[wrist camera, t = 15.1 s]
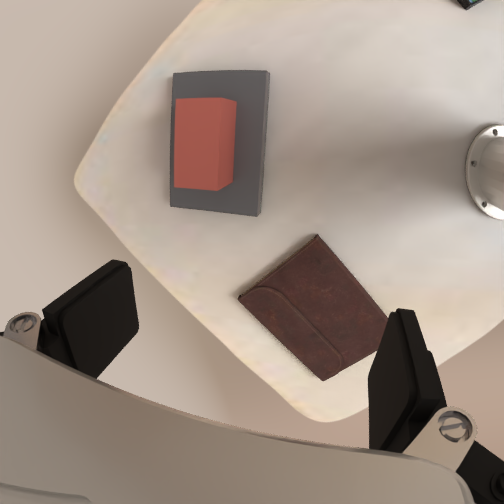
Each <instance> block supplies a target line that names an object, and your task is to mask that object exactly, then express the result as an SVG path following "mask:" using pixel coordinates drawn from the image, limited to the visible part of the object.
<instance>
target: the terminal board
mask: <svg viewBox="0 0 504 504" xmlns="http://www.w3.org/2000/svg"><path fill="white" fill-rule="evenodd" d="M269 80H270V73H269V72H268V71H259V70H223V71H198V72H183V73H173V89H172V110H171V140H170V207H179V208H188V209H197V210H206V211H214V212H223V213H231V214H239V215H247V216H255V217H257V216H258V215H259V214H260V213H261V200H262V186H263V171H264V156H265V142H266V126H267V111H268V96H269ZM183 98H225V99H229V100H233V101H237V106H236V125H235V145H234V167H233V182H232V183H231V184H229V185H227V186H225V187H223V188H222V189H220V190H218V191H214V190H202V189H190V188H177V187H174V141H175V108H176V99H183Z"/></svg>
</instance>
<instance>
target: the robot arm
mask: <svg viewBox="0 0 504 504" xmlns="http://www.w3.org/2000/svg"><path fill="white" fill-rule="evenodd" d="M471 161H472V162H473V163H472V164H471ZM466 181H467V185H468V189H469V192H470V194H471V197H472V199H473V200H474V202H475V203H476V205H477V206H478V207H479V208H480V209H481V210H482V211H483V212H484V213H486V214H487V215H489V216H490V217H492V218H495V219H499V220H504V125H493V126H490V127H487V128H485V129H484V130H482V131H481V132H480V133H479V134H478V135H477V136H476V137H475V139H474V140H473V142H472V144H471V146H470V148H469V151H468V154H467V160H466ZM482 202H483V204H482ZM42 311H43V315H44V319H43V320H42V321H41V318H40V316H39V315H38V314H36V313H33V312H25V313H20V314H18V315H16V316H14V317H13V318H11V319H10V320H9V321H8V323H7V325H6V328H5V331H4V332H0V504H504V461H502V460H501V459H500V458H498V457H497V456H496V455H494V454H493V453H491V452H490V451H489V450H487V449H486V448H485V447H483V446H482V445H480V444H479V443H478V442H476V441H475V438H476V435H477V425H476V423H475V420H474V419H473V418H472V416H471V415H470V414H469V413H467V412H466V411H465V410H463V409H460V408H457V407H447V404H446V400H445V396H444V392H443V389H442V385H441V381H440V378H439V375H438V372H437V368H436V364H435V361H434V358H433V355H432V353H431V352H430V351H428V350H427V348H426V344H425V341H424V338H423V335H422V332H421V329H420V326H419V323H418V320H417V317H416V315H415V312H414V310H407V309H400V308H398V309H397V310H396V312H391V313H390V315H389V318H388V321H387V324H386V327H385V330H384V333H383V336H382V339H381V342H380V345H379V347H378V350H377V353H376V356H375V358H374V361H373V364H372V366H371V369H370V372H369V375H368V398H369V449H366V448H359V447H350V446H340V445H333V444H325V443H319V442H313V441H306V440H301V439H295V438H289V437H283V436H278V435H272V434H268V433H262V432H258V431H253V430H249V429H245V428H241V427H237V426H232V425H229V424H225V423H221V422H217V421H213V420H209V419H206V418H203V417H199V416H196V415H192V414H189V413H186V412H183V411H179V410H176V409H174V408H170V407H167V406H165V405H162V404H158V403H156V402H153V401H150V400H147V399H145V398H142V397H139V396H136V395H134V394H131V393H129V392H126V391H124V390H121V389H119V388H116V387H114V386H111V385H109V384H107V383H104V382H102V381H100V380H97V377H98V376H99V375H100V374H101V373H102V372H103V371H104V370H105V368H106V367H107V366H108V365H109V364H110V363H111V362H112V360H113V359H114V358H115V357H116V356H117V355H118V353H120V351H121V350H122V349H123V348H124V347H125V346H126V345H127V344H128V343H129V341H130V340H131V339H132V338H133V337H134V336H135V335H136V333H137V332H138V329H139V322H138V315H137V309H136V303H135V295H134V287H133V280H132V271H131V268H130V267H129V266H128V264H127V263H126V262H123V261H118V260H111V261H109V262H108V263H106V264H105V265H103V266H102V267H101V268H99V269H98V270H96V271H95V272H93V273H92V274H90V275H89V276H88V277H86V278H85V279H84V280H82V281H80V282H79V283H78V284H76V285H75V286H73V287H72V288H71V289H69V290H68V291H67V292H65V293H64V294H62V295H61V296H60V297H59V298H57V299H56V300H54V301H53V302H52V303H50V304H49V305H48V306H46V307H45V308H44V309H42Z"/></svg>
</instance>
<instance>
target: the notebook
mask: <svg viewBox="0 0 504 504" xmlns="http://www.w3.org/2000/svg"><path fill="white" fill-rule="evenodd" d="M238 300H239V301H240V302H241V303H242V304H243V305H244V306H245V307H246V308H247V309H248V310H249V311H250V312H251V313H252V314H253V315H254V316H255V317H256V318H257V319H258V320H259V321H260V322H261V323H262V324H263V325H264V326H265V327H266V328H267V329H268V330H269V331H270V332H271V333H272V334H273V335H274V336H275V337H276V338H277V339H278V340H279V341H280V342H281V343H282V344H283V345H284V346H286V347H287V348H288V349H289V350H290V351H291V352H292V353H293V354H294V355H295V356H296V357H297V358H298V359H299V360H300V361H301V362H302V363H303V364H304V365H306V366H307V367H308V368H309V369H310V370H311V371H312V372H313V373H314V374H315V375H316V376H317V377H318V378H319V379H321V380H322V381H325V380H327V379H329V378H331V377H333V376H335V375H336V374H338V373H339V372H340V371H342V370H344V369H346V368H347V367H349V366H351V365H353V364H355V363H356V362H358V361H360V360H362V359H363V358H365V357H367V356H368V355H370V354H372V353H374V352H375V351H377V350H378V347H379V345H380V342H381V339H382V336H383V333H384V330H385V327H386V324H387V321H388V317H387V316H386V315H385V314H384V312H383V311H382V310H381V309H380V308H379V306H378V305H377V304H376V303H375V301H374V300H373V299H372V298H371V296H370V295H369V294H368V293H367V292H366V290H365V289H364V288H363V287H362V286H361V284H360V283H359V282H358V281H357V280H356V278H355V277H354V276H353V275H352V274H351V273H350V271H349V270H348V269H347V268H346V267H345V265H344V264H343V263H342V262H341V261H340V260H339V258H338V257H337V256H336V255H335V254H334V253H333V252H332V250H331V249H330V248H329V247H328V246H327V245H326V243H325V242H324V241H323V240H322V239H321V238H320V237H319V236H318V234H317V235H316V237H314V238H313V239H312V240H311V241H310V242H308V243H307V244H306V245H305V246H303V247H302V248H301V249H300V250H298V251H297V252H296V253H295V254H293V255H292V256H291V257H289V258H288V259H287V260H286V261H284V262H283V263H282V264H281V265H279V266H278V267H277V268H276V269H274V270H273V271H272V272H271V273H269V274H268V275H267V276H265V277H264V278H263V279H262V280H260V281H259V282H258V283H256V284H255V285H254V286H253V287H251V288H250V289H249V290H247V291H246V292H245V293H244V294H242V296H241V295H240V296H239V297H238Z"/></svg>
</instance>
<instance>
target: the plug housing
mask: <svg viewBox="0 0 504 504" xmlns="http://www.w3.org/2000/svg"><path fill="white" fill-rule="evenodd" d="M236 106H237V101H233V100H229V99H225V98H183V99H176V108H175V141H174V187H177V188H190V189H202V190H214V191H218V190H220V189H222V188H223V187H225V186H227V185H229V184H231V183H232V182H233V167H234V145H235V125H236Z"/></svg>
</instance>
